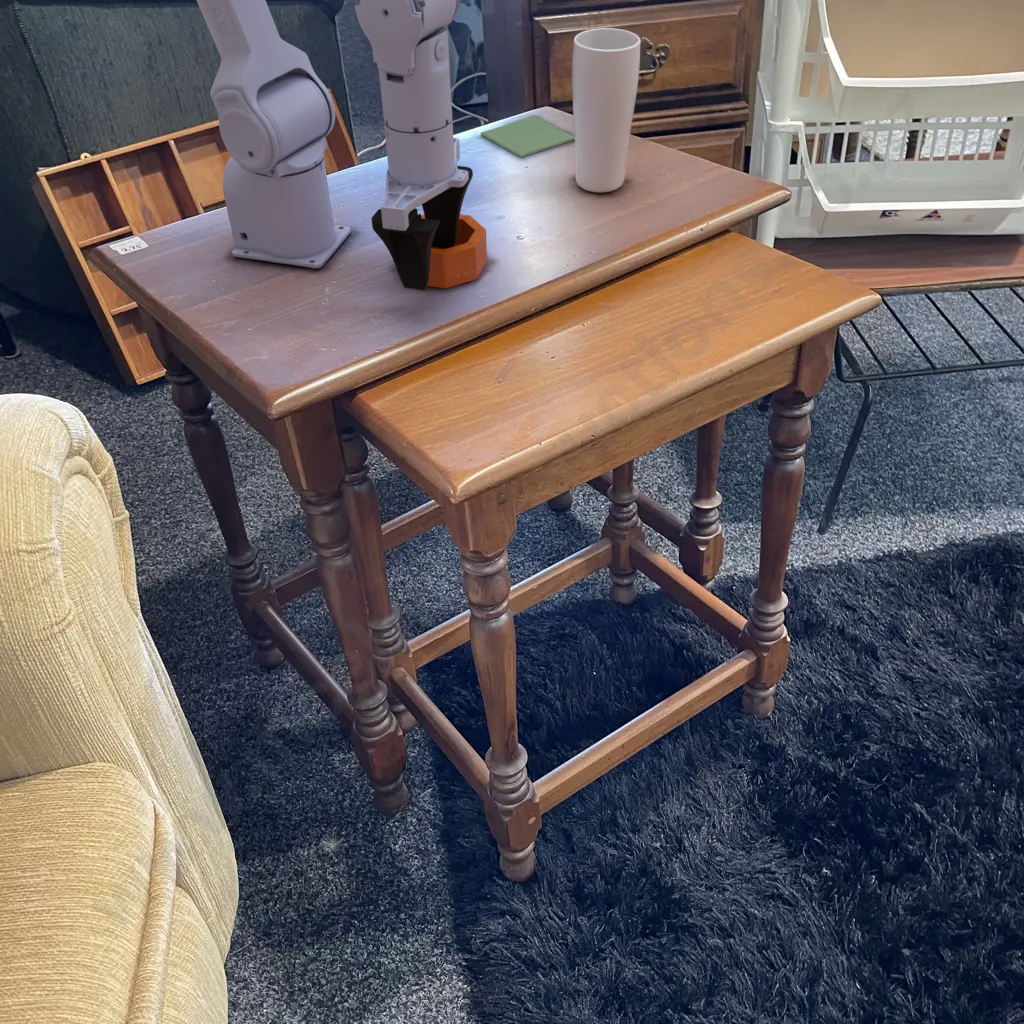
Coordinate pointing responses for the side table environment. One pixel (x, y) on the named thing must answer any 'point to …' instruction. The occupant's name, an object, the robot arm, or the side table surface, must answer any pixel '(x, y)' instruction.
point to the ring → (459, 256)
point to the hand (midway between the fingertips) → (429, 266)
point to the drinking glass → (603, 104)
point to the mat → (527, 136)
